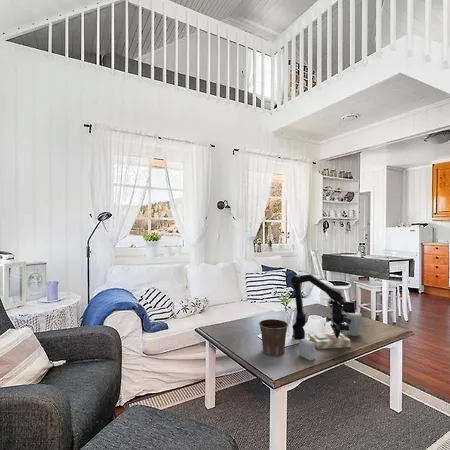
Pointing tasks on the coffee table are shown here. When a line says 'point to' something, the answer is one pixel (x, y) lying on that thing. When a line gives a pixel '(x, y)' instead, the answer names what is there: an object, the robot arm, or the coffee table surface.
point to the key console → (330, 341)
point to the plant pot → (273, 336)
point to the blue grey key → (321, 337)
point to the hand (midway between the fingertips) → (337, 337)
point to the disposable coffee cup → (354, 323)
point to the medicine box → (307, 349)
